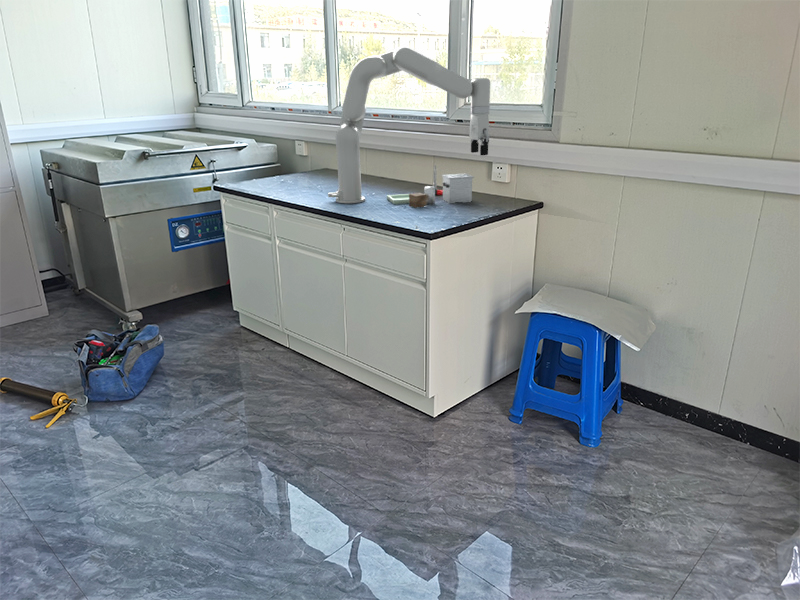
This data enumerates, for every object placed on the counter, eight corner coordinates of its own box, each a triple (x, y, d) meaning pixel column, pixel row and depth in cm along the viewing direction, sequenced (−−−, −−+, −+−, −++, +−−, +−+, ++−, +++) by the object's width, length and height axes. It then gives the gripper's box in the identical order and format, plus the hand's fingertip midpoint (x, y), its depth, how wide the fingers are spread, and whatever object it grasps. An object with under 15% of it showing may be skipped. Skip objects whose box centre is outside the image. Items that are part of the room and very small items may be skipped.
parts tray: (393, 204, 241) (393, 200, 241) (386, 199, 251) (386, 195, 250) (418, 202, 244) (418, 198, 243) (411, 197, 254) (411, 193, 253)
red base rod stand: (427, 192, 268) (425, 195, 260) (427, 163, 264) (425, 165, 255) (445, 192, 267) (443, 195, 258) (446, 163, 263) (444, 165, 254)
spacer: (426, 205, 239) (426, 188, 237) (422, 203, 243) (422, 186, 241) (436, 204, 240) (436, 187, 238) (432, 202, 244) (432, 185, 242)
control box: (448, 203, 242) (448, 178, 238) (441, 199, 250) (441, 174, 246) (472, 201, 244) (473, 176, 241) (464, 197, 252) (465, 173, 248)
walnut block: (415, 208, 235) (415, 196, 233) (409, 206, 239) (409, 194, 237) (426, 206, 237) (426, 194, 236) (419, 204, 241) (419, 192, 240)
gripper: (463, 110, 243) (463, 151, 249) (480, 112, 227) (479, 156, 234) (480, 109, 245) (479, 150, 251) (497, 111, 229) (496, 155, 235)
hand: (479, 153), depth 242 cm, fingers open, 9 cm apart
